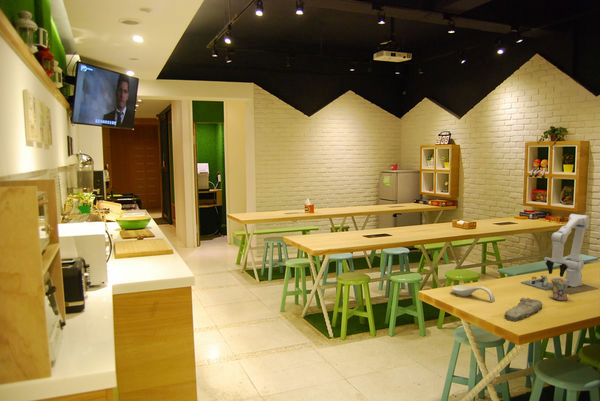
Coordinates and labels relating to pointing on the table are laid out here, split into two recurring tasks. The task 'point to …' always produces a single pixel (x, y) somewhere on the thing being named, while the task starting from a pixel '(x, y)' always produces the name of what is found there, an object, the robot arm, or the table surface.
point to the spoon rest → (471, 291)
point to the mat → (539, 285)
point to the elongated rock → (523, 309)
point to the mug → (559, 288)
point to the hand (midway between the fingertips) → (555, 275)
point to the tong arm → (545, 280)
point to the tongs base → (536, 280)
